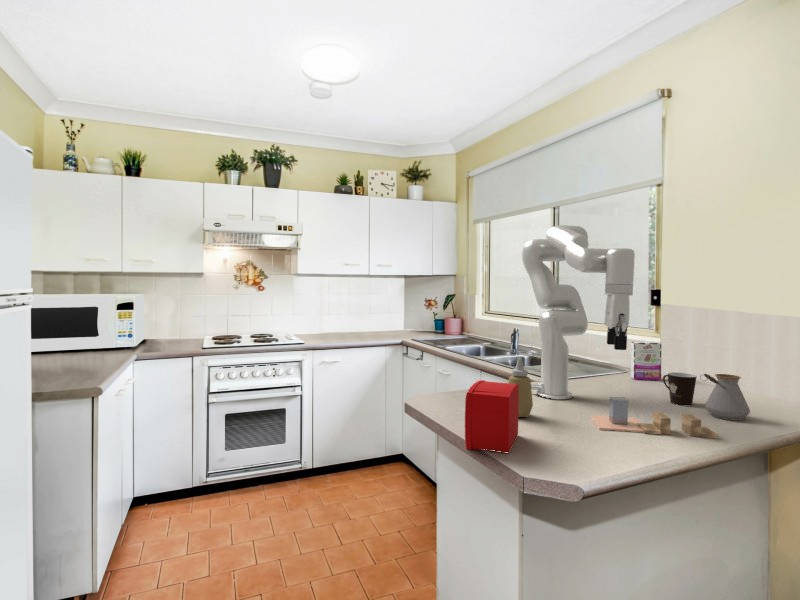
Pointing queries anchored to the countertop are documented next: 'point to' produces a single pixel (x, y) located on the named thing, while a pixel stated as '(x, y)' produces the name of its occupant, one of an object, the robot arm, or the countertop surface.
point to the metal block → (618, 410)
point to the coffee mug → (681, 387)
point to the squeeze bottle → (522, 388)
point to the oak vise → (688, 425)
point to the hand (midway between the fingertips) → (616, 346)
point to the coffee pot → (726, 398)
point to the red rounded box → (491, 416)
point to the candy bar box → (646, 361)
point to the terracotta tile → (606, 424)
